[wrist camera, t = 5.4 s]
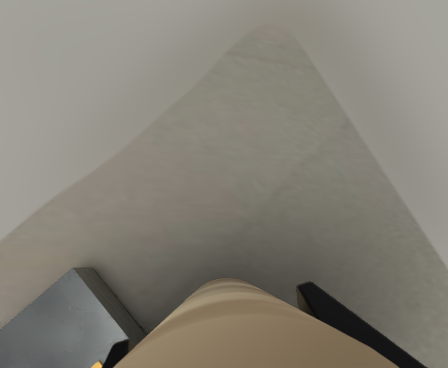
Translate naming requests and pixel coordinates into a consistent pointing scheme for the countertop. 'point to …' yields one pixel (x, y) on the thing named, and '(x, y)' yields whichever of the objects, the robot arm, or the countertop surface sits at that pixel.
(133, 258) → the countertop surface
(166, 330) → the barrel peg
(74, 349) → the grey peg hole board
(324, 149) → the countertop surface
